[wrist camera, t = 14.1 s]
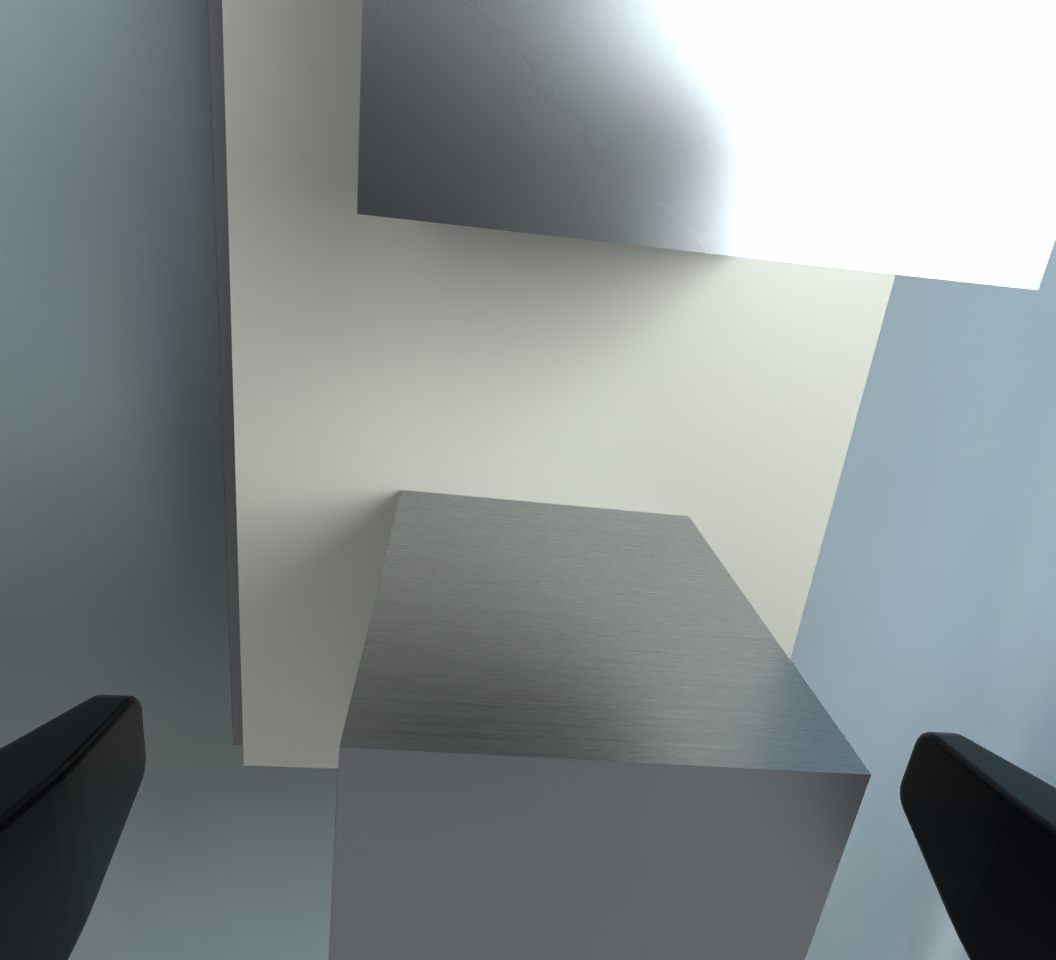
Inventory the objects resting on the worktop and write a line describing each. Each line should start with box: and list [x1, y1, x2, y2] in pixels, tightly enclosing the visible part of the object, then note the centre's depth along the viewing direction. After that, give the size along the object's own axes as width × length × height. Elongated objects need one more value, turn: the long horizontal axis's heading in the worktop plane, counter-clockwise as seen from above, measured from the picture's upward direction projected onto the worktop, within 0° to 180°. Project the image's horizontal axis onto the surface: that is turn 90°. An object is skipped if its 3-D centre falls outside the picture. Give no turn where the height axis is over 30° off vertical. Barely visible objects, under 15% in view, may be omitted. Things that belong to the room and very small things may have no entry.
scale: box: [208, 0, 895, 769], centre depth 8 cm, size 9×17×8 cm, turn 174°
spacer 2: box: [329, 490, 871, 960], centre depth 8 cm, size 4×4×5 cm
